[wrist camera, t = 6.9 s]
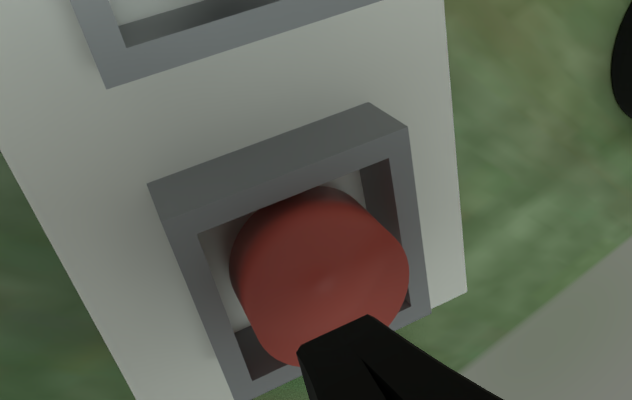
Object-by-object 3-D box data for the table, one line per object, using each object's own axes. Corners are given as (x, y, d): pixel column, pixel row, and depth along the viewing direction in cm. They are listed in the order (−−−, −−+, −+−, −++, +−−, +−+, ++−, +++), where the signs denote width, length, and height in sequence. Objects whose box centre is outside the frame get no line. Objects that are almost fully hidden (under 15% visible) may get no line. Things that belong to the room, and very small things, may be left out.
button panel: (143, 372, 20) (170, 495, 16) (-245, -378, 10) (-437, -562, 6) (420, 248, 23) (505, 326, 19) (330, -445, 13) (470, -603, 9)
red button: (251, 341, 16) (276, 392, 14) (209, 222, 14) (232, 265, 12) (380, 283, 17) (417, 324, 15) (358, 163, 15) (398, 196, 13)
